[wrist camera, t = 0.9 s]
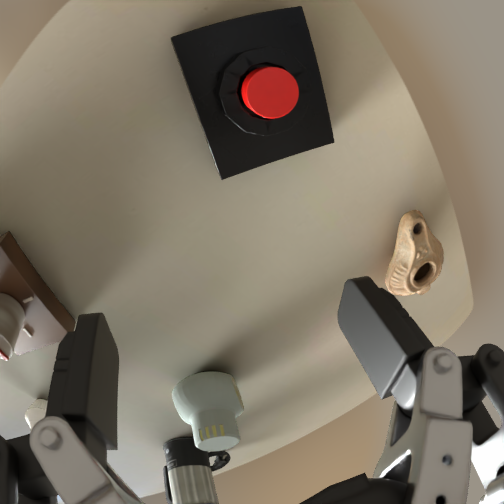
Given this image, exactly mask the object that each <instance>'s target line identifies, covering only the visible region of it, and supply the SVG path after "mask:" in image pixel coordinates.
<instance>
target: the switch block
mask: <svg viewBox="0 0 504 504" xmlns="http://www.w3.org/2000/svg"><path fill="white" fill-rule="evenodd" d="M171 43H172V45H173V48H174V51H175V54H176V57H177V59H178V62H179V65H180V68H181V71H182V74H183V76H184V79H185V82H186V85H187V88H188V90H189V93H190V96H191V99H192V102H193V104H194V107H195V110H196V113H197V116H198V118H199V121H200V124H201V127H202V129H203V132H204V135H205V138H206V141H207V143H208V146H209V149H210V152H211V154H212V157H213V160H214V163H215V166H216V168H217V171H218V173H219V176H220V178H221V180H223V179H226V178H228V177H231V176H234V175H237V174H239V173H242V172H245V171H248V170H251V169H254V168H256V167H259V166H262V165H265V164H268V163H271V162H274V161H277V160H280V159H283V158H286V157H289V156H292V155H295V154H298V153H302V152H305V151H308V150H311V149H314V148H318V147H321V146H324V145H328V144H331V143H334V138H333V132H332V127H331V122H330V117H329V112H328V107H327V103H326V98H325V93H324V89H323V85H322V80H321V76H320V72H319V68H318V64H317V60H316V56H315V52H314V48H313V44H312V41H311V37H310V33H309V30H308V26H307V23H306V19H305V16H304V13H303V9H302V7H301V6H298V7H291V8H285V9H279V10H273V11H267V12H262V13H257V14H252V15H248V16H243V17H239V18H235V19H231V20H227V21H223V22H219V23H216V24H212V25H209V26H205V27H202V28H198V29H195V30H192V31H189V32H186V33H183V34H180V35H177V36H174V37H171ZM261 67H278V68H282V69H284V70H286V71H288V72H289V73H290V74H291V75H292V76H293V77H294V78H295V80H296V82H297V84H298V88H299V97H298V101H297V103H296V105H295V107H294V108H293V109H292V110H291V111H290V112H289V113H288V114H286V115H285V116H283V117H280V118H274V119H271V118H265V117H262V116H260V115H258V114H256V113H254V112H253V111H251V110H250V109H249V108H248V107H247V106H246V105H245V103H244V102H243V99H242V96H241V87H242V83H243V81H244V79H245V77H246V76H247V75H248V74H249V73H250V72H251V71H253V70H255V69H257V68H261Z"/></svg>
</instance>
